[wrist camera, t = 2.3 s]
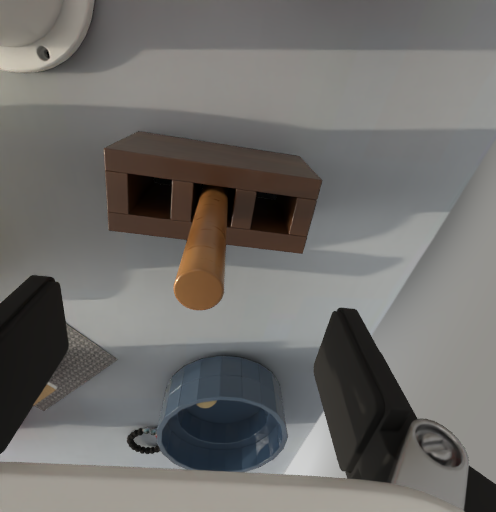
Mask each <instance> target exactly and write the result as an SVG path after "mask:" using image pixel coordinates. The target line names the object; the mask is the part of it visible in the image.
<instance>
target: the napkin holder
mask: <svg viewBox="0 0 496 512" xmlns="http://www.w3.org/2000/svg"><path fill="white" fill-rule="evenodd" d="M57 389H58V387H57V386H56V385H55V384H53V383H51V382H50V381H49V382H48V383H47V385H46V386H45V388H44V389H43V391H42V393H41V394H40V396H39V397H38V399H37V400H36V402H35V405H37V404H38V403H40V402H41V401H42V400H44V399H45V398H47V397H48V396H49V395H51V394H52V393H54V392H55V391H56V390H57Z"/></svg>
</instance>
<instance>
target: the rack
mask: <svg viewBox="0 0 496 512" xmlns="http://www.w3.org/2000/svg"><path fill="white" fill-rule="evenodd" d="M104 160H105V178H106V195H107V211H108V227H109V231H118V232H126V233H134V234H143V235H151V236H159V237H168V238H176V239H184V240H187V239H188V236H189V232H190V229H191V226H192V222H193V219H194V215H195V212H196V209H197V205H198V202H199V199H200V195H201V192H202V189H201V184H207V185H214V186H221V187H228V188H232V192H231V193H228V209H227V232H226V245H234V246H243V247H251V248H259V249H268V250H276V251H284V252H293V253H301V254H303V250H304V247H305V243H306V239H307V235H308V231H309V228H310V224H311V220H312V217H313V213H314V209H315V206H316V202H317V198H318V195H319V191H320V187H321V184H322V180H321V178H320V177H319V176H318V175H317V174H316V173H315V172H314V171H313V170H312V169H311V168H310V167H309V166H308V165H307V164H306V163H305V162H304V160H303V159H302V158H301V157H300V156H295V155H288V154H282V153H275V152H269V151H263V150H256V149H250V148H243V147H237V146H230V145H224V144H217V143H211V142H205V141H198V140H192V139H185V138H179V137H172V136H166V135H160V134H153V133H147V132H140V131H138V132H136V133H134V134H132V135H130V136H128V137H126V138H124V139H122V140H119V141H117V142H115V143H113V144H111V145H109V146H107V147H105V148H104ZM154 177H157V178H164V179H171V180H172V185H168V184H160V183H154ZM257 192H264V193H271V194H276V199H269V198H261V197H256V193H257Z"/></svg>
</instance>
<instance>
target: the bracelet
mask: <svg viewBox="0 0 496 512" xmlns="http://www.w3.org/2000/svg"><path fill="white" fill-rule="evenodd" d="M149 432H151V435H155V436H156V438H157V429H156V428H152V429H150V428H149V427H146V428H145V429H142V428H140V429H139V430H135V431H134V432H132V433H131V434H130V435H129V436H128V438H127V443H128V444H129V447H131V448H132V449H133V450H135V451H136V452H139V451H140V453H144V452H145V453H146V454H149V453H151V454H153V453H154V452H159V451H161V450H160V448H159V446H156V447H151V448H149V447H147V448H145V447H141V446H140V445H137V444H136V443H135V442H134V440H133V439H134V438H135V437H136V436H138V435H142V434H143V433H146V434H148V433H149Z"/></svg>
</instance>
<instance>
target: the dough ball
mask: <svg viewBox="0 0 496 512" xmlns="http://www.w3.org/2000/svg"><path fill="white" fill-rule="evenodd" d="M216 402H217V401H210V402H203V403H198V404H196V405H198V406H199V407H201V408H209V407H212V406H213V405H214V404H215V403H216Z"/></svg>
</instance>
